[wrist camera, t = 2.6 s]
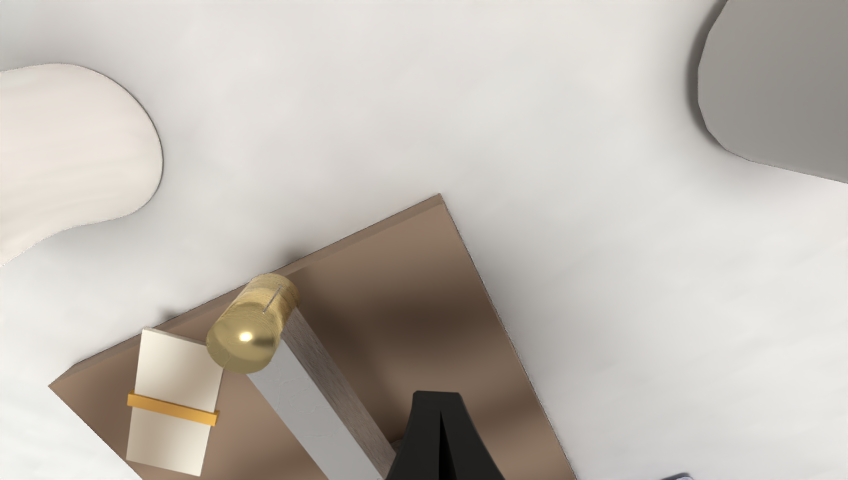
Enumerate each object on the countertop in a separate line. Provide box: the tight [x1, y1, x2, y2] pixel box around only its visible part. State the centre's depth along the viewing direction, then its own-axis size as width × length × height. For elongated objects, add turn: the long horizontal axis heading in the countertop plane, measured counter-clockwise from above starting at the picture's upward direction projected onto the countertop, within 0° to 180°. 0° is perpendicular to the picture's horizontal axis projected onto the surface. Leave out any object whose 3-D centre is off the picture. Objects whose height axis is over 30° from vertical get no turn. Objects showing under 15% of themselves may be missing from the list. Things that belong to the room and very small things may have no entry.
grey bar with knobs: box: [206, 273, 402, 480], centre depth 16 cm, size 16×5×6 cm, turn 26°
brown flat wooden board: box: [48, 194, 577, 480], centre depth 21 cm, size 21×20×2 cm
